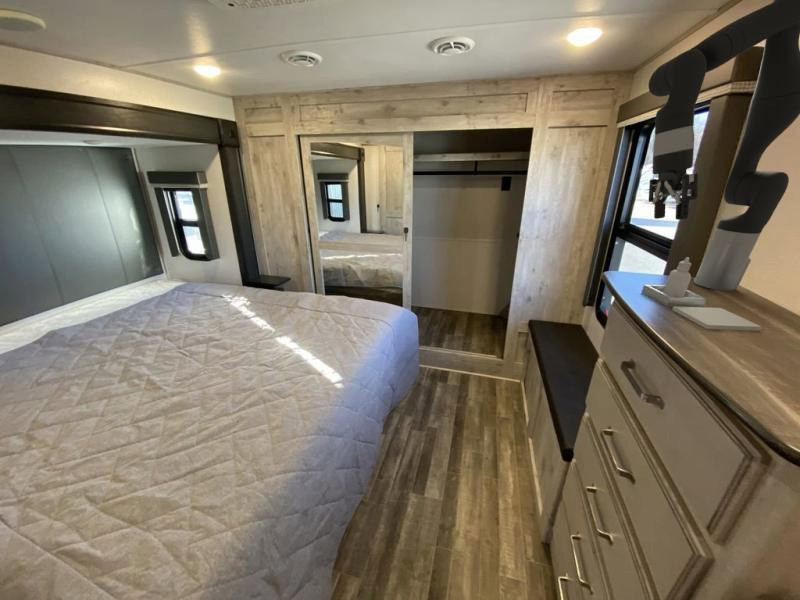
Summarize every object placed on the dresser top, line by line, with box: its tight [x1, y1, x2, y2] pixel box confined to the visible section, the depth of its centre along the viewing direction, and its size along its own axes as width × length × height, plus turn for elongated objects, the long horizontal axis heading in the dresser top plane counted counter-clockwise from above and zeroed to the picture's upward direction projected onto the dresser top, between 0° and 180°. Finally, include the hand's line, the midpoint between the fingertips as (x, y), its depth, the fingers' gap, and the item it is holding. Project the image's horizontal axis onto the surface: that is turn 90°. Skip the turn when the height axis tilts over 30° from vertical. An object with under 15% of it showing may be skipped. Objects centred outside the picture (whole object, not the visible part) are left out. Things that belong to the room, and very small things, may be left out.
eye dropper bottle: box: [663, 257, 692, 297], centre depth 84 cm, size 4×6×12 cm
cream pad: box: [671, 306, 762, 332], centre depth 75 cm, size 12×10×1 cm
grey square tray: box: [641, 284, 708, 308], centre depth 86 cm, size 10×10×2 cm
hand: (669, 218), depth 80 cm, fingers open, 8 cm apart
